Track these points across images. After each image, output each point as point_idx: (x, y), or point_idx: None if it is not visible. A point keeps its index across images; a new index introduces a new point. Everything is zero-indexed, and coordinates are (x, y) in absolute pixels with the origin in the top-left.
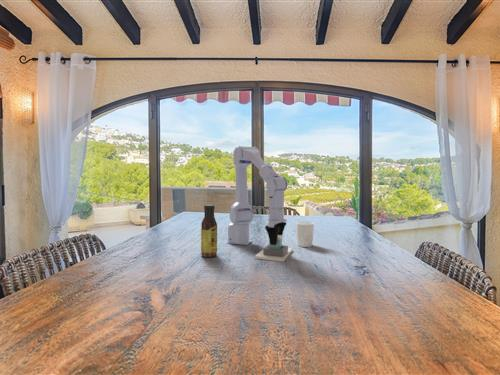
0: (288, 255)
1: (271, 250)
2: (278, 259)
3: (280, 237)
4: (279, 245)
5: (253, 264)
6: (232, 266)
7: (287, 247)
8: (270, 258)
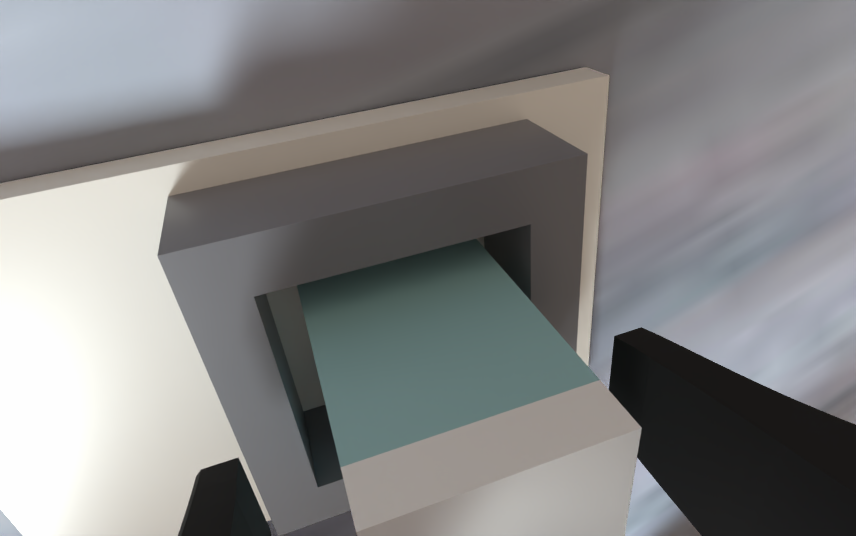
0: (237, 136)
1: (570, 328)
2: (593, 146)
3: (523, 442)
4: (520, 303)
5: (744, 293)
6: (805, 377)
7: (216, 228)
8: (590, 250)
